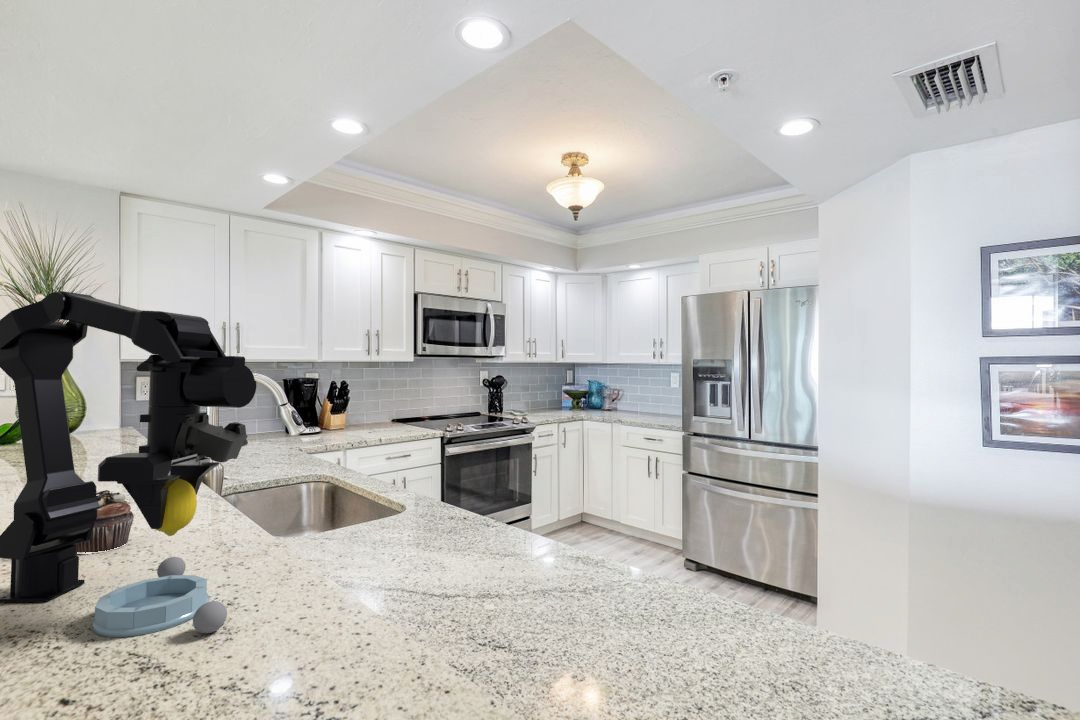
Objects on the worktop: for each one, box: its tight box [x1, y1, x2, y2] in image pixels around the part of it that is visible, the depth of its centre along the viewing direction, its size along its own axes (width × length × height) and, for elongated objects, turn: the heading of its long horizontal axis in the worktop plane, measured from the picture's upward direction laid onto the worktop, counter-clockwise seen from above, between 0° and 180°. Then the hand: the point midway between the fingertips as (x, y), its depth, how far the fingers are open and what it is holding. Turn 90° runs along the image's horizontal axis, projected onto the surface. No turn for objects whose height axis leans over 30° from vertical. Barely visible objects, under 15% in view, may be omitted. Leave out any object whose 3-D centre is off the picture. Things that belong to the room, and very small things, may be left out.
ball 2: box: [192, 600, 228, 634], centre depth 62 cm, size 4×4×4 cm
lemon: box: [155, 478, 198, 537], centre depth 69 cm, size 6×6×8 cm
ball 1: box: [156, 556, 187, 578], centre depth 77 cm, size 4×4×4 cm
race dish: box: [92, 574, 210, 638], centre depth 67 cm, size 12×12×3 cm
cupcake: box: [74, 489, 135, 553], centre depth 92 cm, size 10×10×10 cm
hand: (170, 522), depth 69 cm, fingers closed on lemon, 5 cm apart
